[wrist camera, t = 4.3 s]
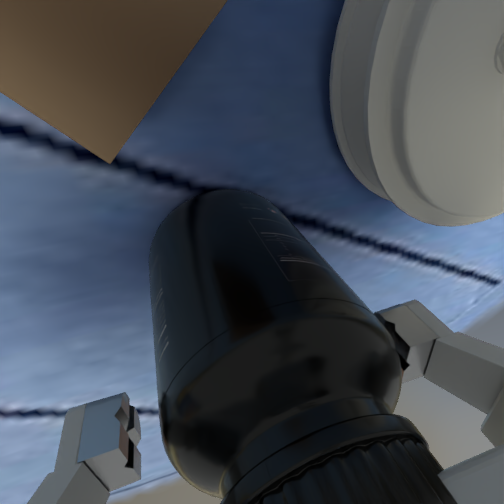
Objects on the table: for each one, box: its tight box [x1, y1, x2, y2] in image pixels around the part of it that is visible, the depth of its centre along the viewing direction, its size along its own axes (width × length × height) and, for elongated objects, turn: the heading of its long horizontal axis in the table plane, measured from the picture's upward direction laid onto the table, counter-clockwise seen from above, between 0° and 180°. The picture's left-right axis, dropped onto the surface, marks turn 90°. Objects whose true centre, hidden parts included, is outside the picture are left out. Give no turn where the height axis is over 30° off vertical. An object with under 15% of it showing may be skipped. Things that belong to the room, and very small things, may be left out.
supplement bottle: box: [149, 189, 458, 504], centre depth 11 cm, size 7×7×12 cm
